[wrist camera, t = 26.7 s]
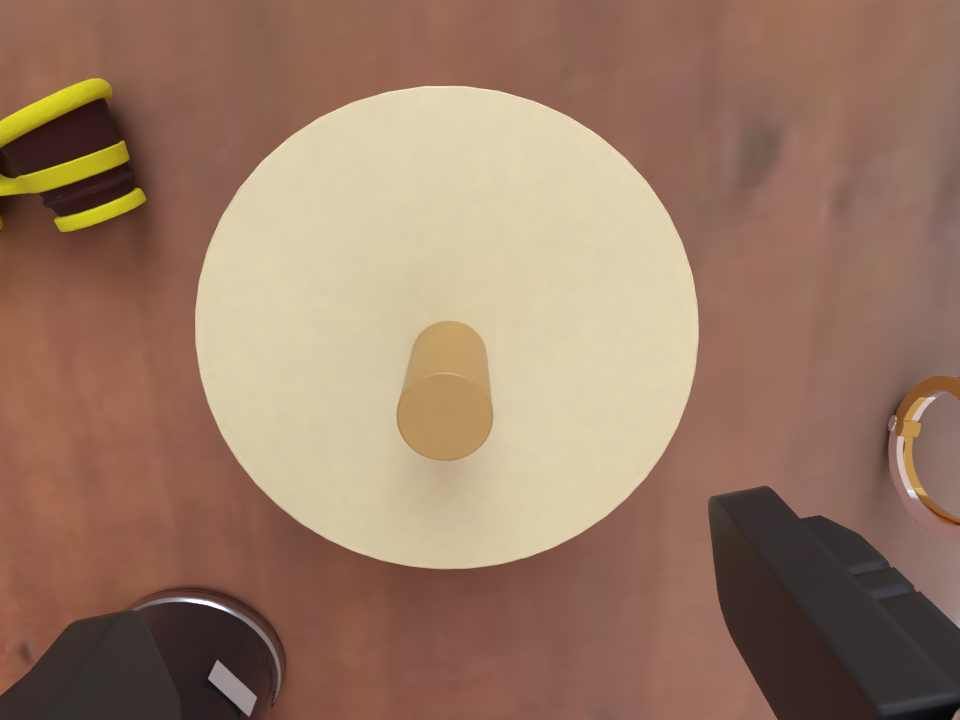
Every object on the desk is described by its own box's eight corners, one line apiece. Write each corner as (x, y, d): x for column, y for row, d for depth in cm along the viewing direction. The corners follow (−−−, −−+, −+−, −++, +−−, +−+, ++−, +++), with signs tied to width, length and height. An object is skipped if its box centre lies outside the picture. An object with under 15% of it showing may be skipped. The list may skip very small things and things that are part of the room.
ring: (907, 487, 33) (1039, 587, 25) (846, 482, 33) (961, 581, 25) (950, 357, 31) (1108, 425, 23) (886, 352, 31) (1023, 418, 23)
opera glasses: (-45, 222, 29) (-134, 262, 24) (-109, 96, 26) (-220, 115, 22) (171, 200, 29) (121, 236, 24) (128, 71, 26) (65, 86, 22)
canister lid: (289, 586, 24) (235, 722, 18) (135, 152, 19) (-5, 153, 13) (709, 505, 23) (788, 620, 17) (657, 35, 18) (742, -16, 13)
